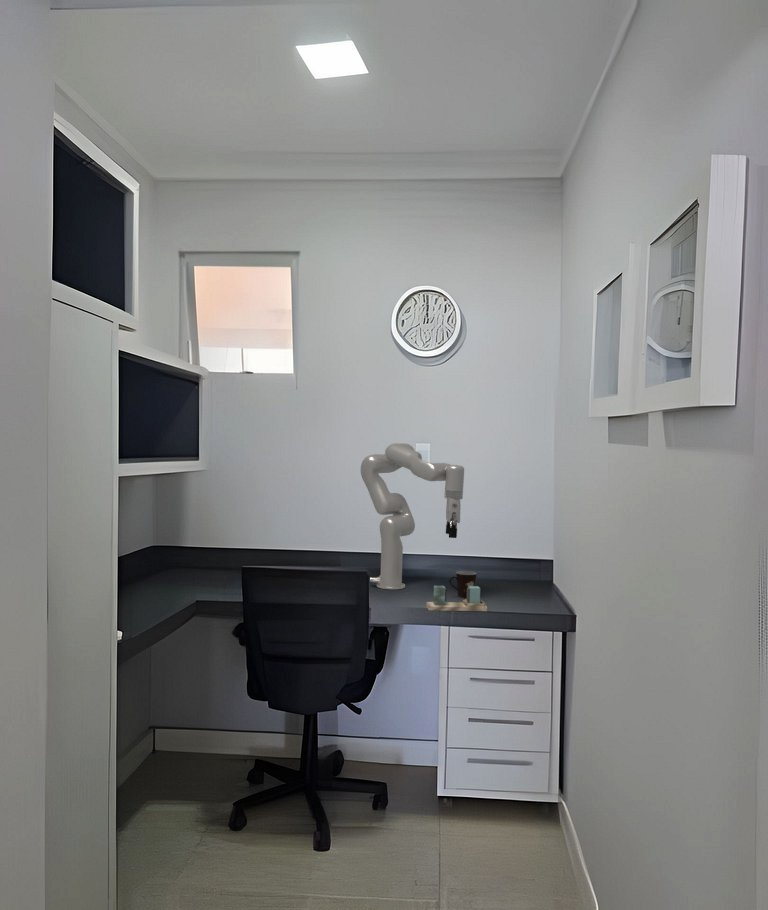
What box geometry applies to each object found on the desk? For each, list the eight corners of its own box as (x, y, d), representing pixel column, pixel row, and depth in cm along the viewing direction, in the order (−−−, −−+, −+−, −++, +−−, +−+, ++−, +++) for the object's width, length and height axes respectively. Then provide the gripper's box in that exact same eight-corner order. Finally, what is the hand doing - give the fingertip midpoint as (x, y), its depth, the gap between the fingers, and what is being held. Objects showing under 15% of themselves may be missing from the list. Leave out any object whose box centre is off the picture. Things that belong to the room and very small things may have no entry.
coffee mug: (474, 594, 346) (475, 571, 345) (476, 598, 337) (477, 575, 337) (447, 593, 346) (448, 570, 345) (449, 598, 337) (449, 574, 337)
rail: (428, 610, 313) (429, 588, 313) (426, 605, 321) (427, 584, 321) (487, 611, 315) (487, 589, 314) (483, 606, 323) (484, 585, 322)
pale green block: (477, 603, 321) (478, 586, 320) (479, 606, 317) (480, 588, 316) (466, 603, 320) (466, 586, 320) (468, 605, 316) (468, 588, 316)
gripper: (465, 497, 325) (463, 539, 326) (459, 493, 343) (457, 532, 344) (447, 496, 325) (444, 538, 326) (442, 492, 342) (439, 532, 343)
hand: (451, 535), depth 335 cm, fingers open, 9 cm apart
